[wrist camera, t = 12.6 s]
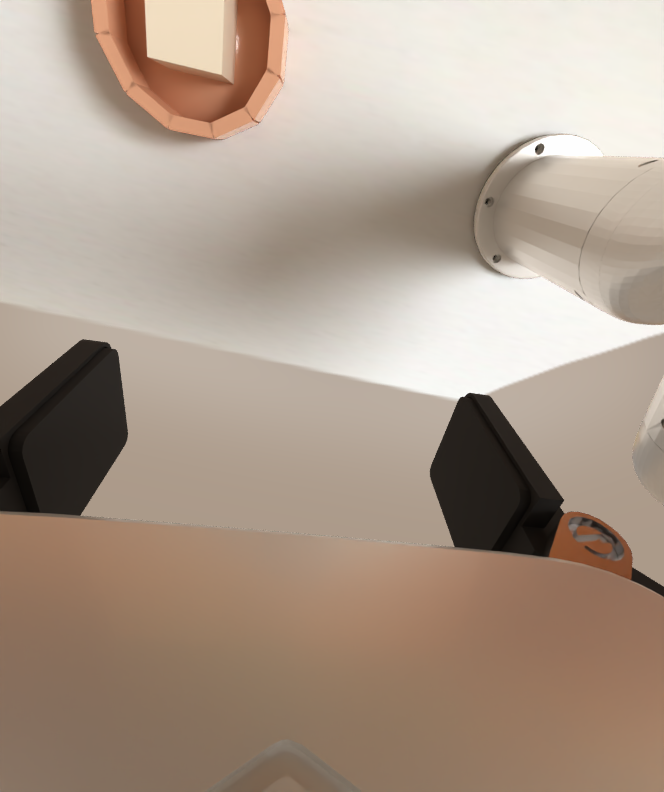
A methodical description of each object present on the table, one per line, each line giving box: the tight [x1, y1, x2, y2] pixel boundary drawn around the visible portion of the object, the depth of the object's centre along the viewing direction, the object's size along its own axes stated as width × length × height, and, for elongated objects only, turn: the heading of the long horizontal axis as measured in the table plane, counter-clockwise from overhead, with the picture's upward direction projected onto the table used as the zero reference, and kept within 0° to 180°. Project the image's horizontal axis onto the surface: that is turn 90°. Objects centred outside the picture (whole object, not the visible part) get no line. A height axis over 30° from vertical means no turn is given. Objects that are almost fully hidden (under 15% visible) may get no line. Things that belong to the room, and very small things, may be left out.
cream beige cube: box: [145, 0, 238, 84], centre depth 28 cm, size 5×5×5 cm
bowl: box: [91, 0, 289, 140], centre depth 29 cm, size 13×13×4 cm
